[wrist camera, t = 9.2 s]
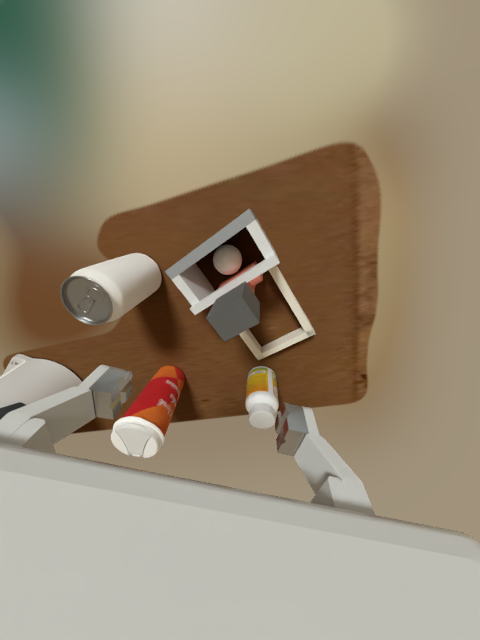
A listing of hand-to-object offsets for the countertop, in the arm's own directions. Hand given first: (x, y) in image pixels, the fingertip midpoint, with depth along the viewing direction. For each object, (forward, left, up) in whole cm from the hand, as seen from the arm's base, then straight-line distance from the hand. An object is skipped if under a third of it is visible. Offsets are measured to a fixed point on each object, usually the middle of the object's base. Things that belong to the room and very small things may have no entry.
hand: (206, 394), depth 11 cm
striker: (0, 0, -23) cm, 23 cm away
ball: (0, +4, -21) cm, 21 cm away
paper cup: (-23, -9, -23) cm, 34 cm away
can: (-13, +9, -23) cm, 28 cm away
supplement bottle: (-7, -18, -23) cm, 30 cm away
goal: (0, +3, -23) cm, 23 cm away
